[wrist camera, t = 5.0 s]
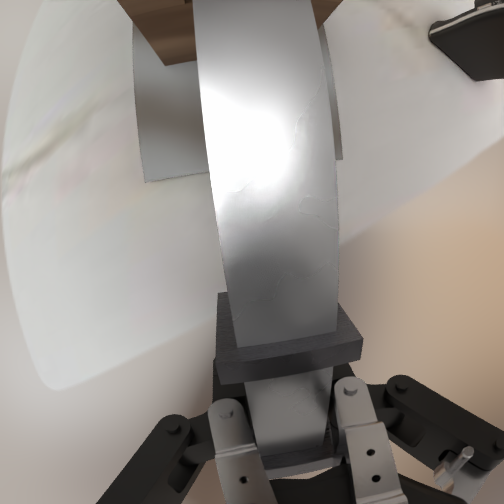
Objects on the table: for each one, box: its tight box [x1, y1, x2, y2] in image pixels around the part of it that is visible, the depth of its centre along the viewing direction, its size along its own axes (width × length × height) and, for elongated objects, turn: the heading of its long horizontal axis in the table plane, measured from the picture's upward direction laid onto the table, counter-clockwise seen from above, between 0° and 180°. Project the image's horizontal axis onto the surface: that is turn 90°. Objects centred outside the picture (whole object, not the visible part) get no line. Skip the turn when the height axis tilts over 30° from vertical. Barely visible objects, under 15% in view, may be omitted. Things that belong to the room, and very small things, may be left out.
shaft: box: [193, 0, 363, 479], centre depth 8 cm, size 21×4×4 cm, turn 6°
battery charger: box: [430, 0, 504, 81], centre depth 8 cm, size 7×4×11 cm, turn 71°
